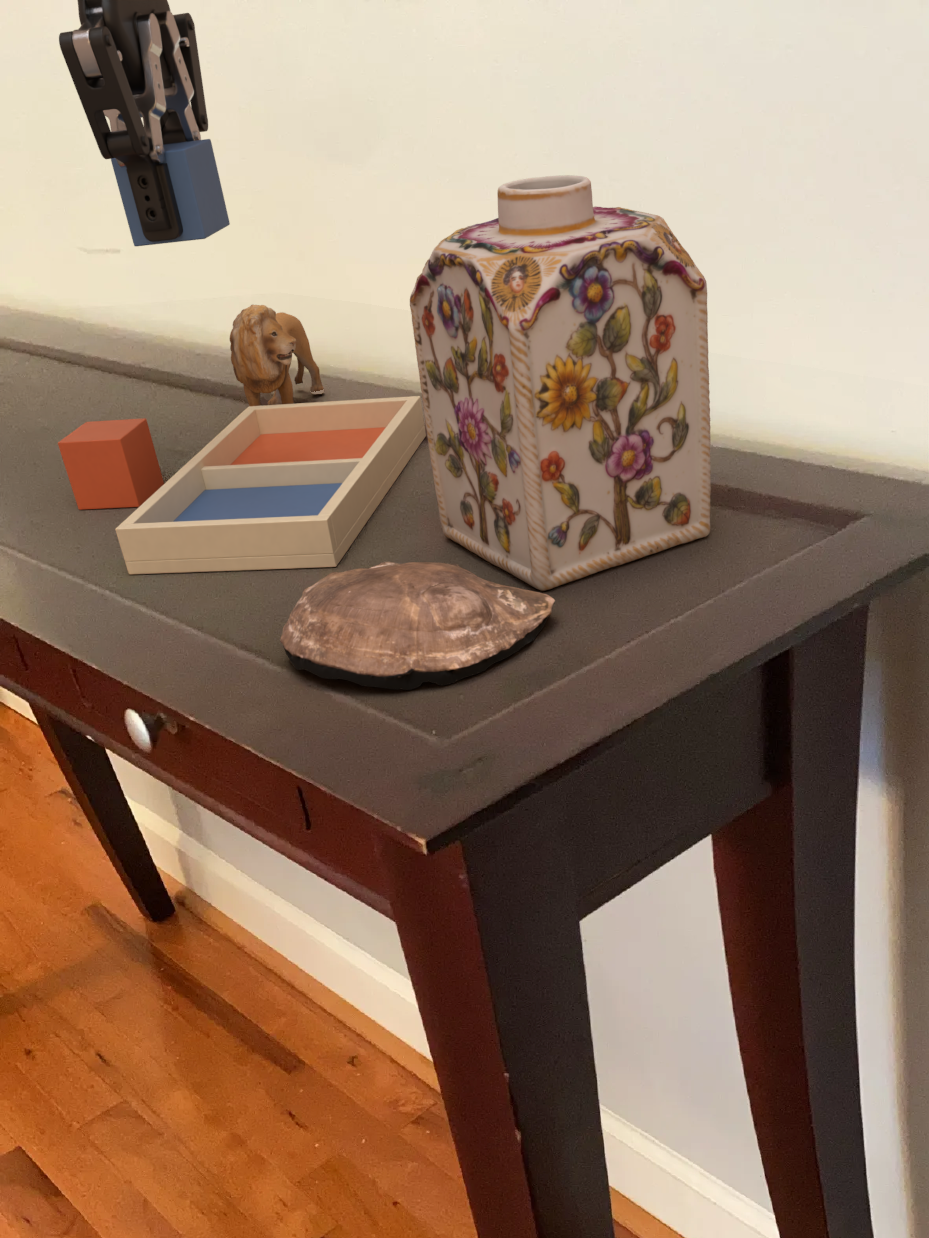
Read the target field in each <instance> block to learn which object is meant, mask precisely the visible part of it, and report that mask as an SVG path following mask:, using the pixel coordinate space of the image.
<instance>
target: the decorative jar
mask: <svg viewBox="0 0 929 1238" xmlns="http://www.w3.org/2000/svg"><path fill="white" fill-rule="evenodd" d="M592 190H593V189H592V181H591V180H590V178H588V177H586V176H583V175H575V174H573V175H570V174H563V175H548V176H537V177H536V176H535V177H528V178H527V177H526V178H522V179H516V180H512V181H508V182H505V183H503V184H501V185H500V186H498V188H497V218H494V219H492V220H489V221H485V222H481V223H475V224H473V225H467V226H466V227H461V228H458V229H457V230H455V231H453V233H451V234H450V235H448V236H446V237H444V238H443V239H441V240H440V241H439V242H438V244H437V245H436V246H435V247H434V248H433V250H432V252H431V254H430V256H429V258H428V259H427V260H426V261H425V264H424V266H423V268H422V272H421V273H420V274H419V275H418V276H417V277H416V281H415V284H414V287H413V289H412V291H411V293H410V296H409V307H410V308H409V309H410V314H411V324H412V330H413V339H414V348H415V354H416V361H417V368H418V375H419V385H420V392H421V399H422V407H423V417H424V424H425V431H426V437H427V438H426V439H427V445H428V451H429V458H430V465H431V469H432V478H433V483H434V489H435V492H434V493H435V495H436V501H437V509H438V514H439V521H440V525H441V529H442V533H443V535H444V536H445V537H446V538H447V539H450V540H451V541H453V542H454V543H456V544H458V545H460V546H461V547H462V548H465V550H468V551H469V552H471V553H473V554H475V555H477V556H478V557H479V558H481V559H483V560H485V561H486V562H488V563H490V564H491V565H494V566H495V567H497V568H499V569H500V570H503V571H505V572H507V573H508V574H510V575H512V576H514V577H515V578H517V579H519V580H521V582H524V583H526V584H527V585H529V586H531V587H533V588H534V589H536V590H538V591H540V592H541V591H542V592H545V591H549V590H552V589H554V588H557V587H560V586H563V585H566V584H568V583H571V582H574V581H578V580H580V579H583V578H586V577H588V576H591V575H594V574H596V573H598V572H602V571H606V570H609V569H611V568H615V567H618V566H621V565H622V566H623V565H625V564H629V563H630V562H634V561H636V560H639V559H642V558H645V557H647V556H651V555H653V554H657V553H660V552H662V551H665V550H668V549H671V548H673V547H676V546H679V545H684V544H687V543H690V542H693V541H695V540H698V539H702V538H706V537H707V536H709V534H710V533H711V493H712V492H711V491H712V488H711V487H712V485H711V480H712V479H711V474H712V470H711V465H712V463H711V457H712V456H711V428H712V427H711V407H710V406H711V405H710V404H711V401H710V400H711V399H710V394H711V393H710V369H709V330H708V329H709V328H708V323H709V321H708V319H709V318H708V316H709V315H708V313H709V312H708V284H707V280H706V277H705V276H704V274H703V273H702V272H701V271H700V269H699V267H698V266H697V265H696V263H695V262H694V260H693V259H692V257H691V255H690V254H689V252H688V251H687V250H686V249H685V248H684V247H683V245H682V244H681V243H680V241H679V240H678V238H677V236H676V235H675V234H674V232H673V231H672V229H671V228H670V226H669V225H668V223H667V221H666V220H665V219H664V217H662V216H660V215H658V214H653V213H649V212H644V211H640V210H639V211H638V210H633V209H629V208H625V207H621V206H617V207H604V206H603V207H602V206H594V205H593V203H594V202H593V191H592Z"/></svg>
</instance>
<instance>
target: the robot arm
mask: <svg viewBox="0 0 929 1238" xmlns="http://www.w3.org/2000/svg"><path fill="white" fill-rule="evenodd" d="M77 7H78V8H77V9H78V18H79V23H80V27H79V28H78V29H74V30H70V31H64V32H60V33H59V34H58V43H59V48H60V51H61V54H62V56H63V60H64V61H65V64H66V67H67V70H68V72H69V74H70V77H71V80H72V82H73V85H74V88H75V90H76V92H77V95H78V98H79V100H80V103H81V106H82V109H83V111H84V114H85V116H86V119H87V121H88V124H89V126H90V128H91V132H92V134H93V137H94V139H95V143H96V145H97V147H98V150H99V152H100V154H101V157H102V158H103V159H105V160H111V159H113V158H116V160H117V162H118V164H119V166H120V167H122V168H123V167H126V168H127V169H126V170H127V174H128V178H129V182H130V186H131V189H132V193H133V197H134V201H135V204H136V208H137V212H138V216H139V220H140V223H141V227H142V231H143V234H144V236H145V238H146V239H147V240H149V241H151V242H156V241H165V240H173V239H176V238H178V237H180V236H181V235H182V233H183V226H182V222H181V218H180V214H179V210H178V206H177V202H176V198H175V194H174V189H173V185H172V181H171V177H170V173H169V169H168V165H167V163H163V162H164V157H165V156H164V148H163V145H165V144H173V143H181V142H189V141H197V140H202V135H201V133H204V132H208V131H209V118H208V112H207V106H206V105H207V104H206V98H205V90H204V83H203V78H202V70H201V63H200V56H199V48H198V42H197V34H196V27H195V21H194V20H193V17H192V15H191V14H190V13H189V12H183V13H178V14H173V12H172V11H171V7H170V3H169V2H168V0H77ZM107 118H108V120H107ZM108 121H109V122H108ZM159 163H163V164H159Z"/></svg>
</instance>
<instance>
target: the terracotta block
mask: <svg viewBox="0 0 929 1238" xmlns="http://www.w3.org/2000/svg"><path fill="white" fill-rule="evenodd" d="M57 446H58V448H59V452H60V455H61V458H62V461H63V466H64V468H65V471H66V474H67V477H68V480H69V484H70V486H71V490H72V493H73V496H74V500H75V503H76V506H77V509H78V510H80V511H81V510H103V509H120V508H121V509H122V508H123V509H124V508H125V509H126V508H139V507H140V506H141V505H142V504H143V503H144V502H145V501H146V500H147V499H148V498H150V497H151V496H152V495H153V494H154V493H155V492H156V491H157V490H158V489H159V488H160V487H161V486H163V485H164V484H165V482H164V479H163V475H162V471H161V467H160V464H159V460H158V455H157V452H156V449H155V445H154V442H153V438H152V434H151V430H150V426H149V424H148V419H147V418H128V419H112V420H111V419H110V420H95V421H85V422H84V423H83V424H81V425H80V426H79V427H77V428H76V429H74V430H73V431H71V432H70V433H69V434H68V435H66V436H65V437H63V438H61V440H60V441H58V442H57Z"/></svg>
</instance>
